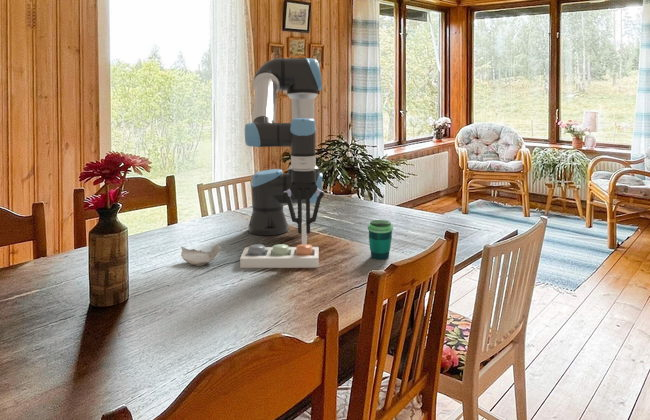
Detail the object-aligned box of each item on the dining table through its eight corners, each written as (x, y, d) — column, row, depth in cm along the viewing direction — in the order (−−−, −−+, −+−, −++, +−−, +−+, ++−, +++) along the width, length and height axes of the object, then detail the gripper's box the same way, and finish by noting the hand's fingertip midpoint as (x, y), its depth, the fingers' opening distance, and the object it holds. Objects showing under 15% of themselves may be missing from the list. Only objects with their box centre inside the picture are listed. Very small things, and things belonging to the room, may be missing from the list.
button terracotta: (296, 257, 172) (296, 248, 172) (296, 253, 177) (296, 244, 177) (312, 257, 172) (312, 248, 172) (312, 253, 177) (312, 244, 177)
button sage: (272, 258, 172) (271, 248, 172) (273, 253, 177) (273, 244, 176) (288, 257, 172) (287, 248, 172) (289, 253, 177) (288, 244, 177)
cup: (394, 255, 181) (395, 220, 178) (389, 263, 173) (390, 226, 171) (370, 253, 184) (371, 218, 181) (364, 260, 176) (364, 224, 173)
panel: (240, 267, 169) (240, 258, 169) (245, 256, 181) (245, 247, 180) (318, 267, 169) (318, 258, 169) (318, 255, 181) (318, 246, 180)
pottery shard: (177, 262, 174) (176, 247, 173) (207, 255, 182) (206, 241, 181) (194, 270, 167) (194, 254, 166) (225, 262, 175) (224, 247, 174)
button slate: (248, 258, 172) (247, 248, 172) (250, 253, 177) (249, 244, 176) (264, 258, 172) (263, 248, 172) (265, 253, 177) (265, 244, 176)
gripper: (281, 171, 165) (282, 246, 170) (324, 171, 165) (325, 246, 170) (283, 167, 172) (284, 240, 177) (324, 167, 172) (324, 240, 178)
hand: (304, 243), depth 174 cm, fingers closed
